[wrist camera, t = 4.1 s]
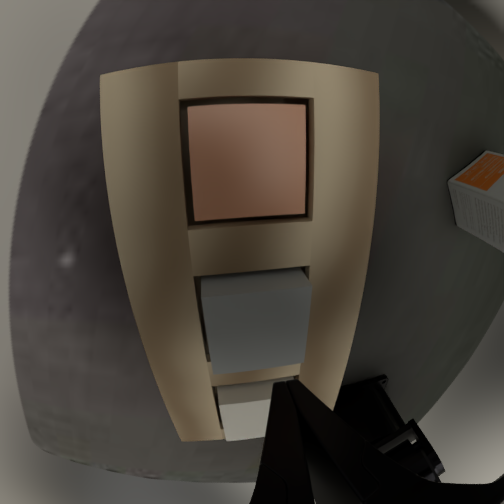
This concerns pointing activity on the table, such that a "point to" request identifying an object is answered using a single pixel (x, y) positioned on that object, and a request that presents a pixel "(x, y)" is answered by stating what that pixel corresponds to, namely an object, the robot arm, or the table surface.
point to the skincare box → (481, 198)
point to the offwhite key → (246, 408)
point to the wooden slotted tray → (238, 229)
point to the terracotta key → (247, 160)
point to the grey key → (256, 318)
